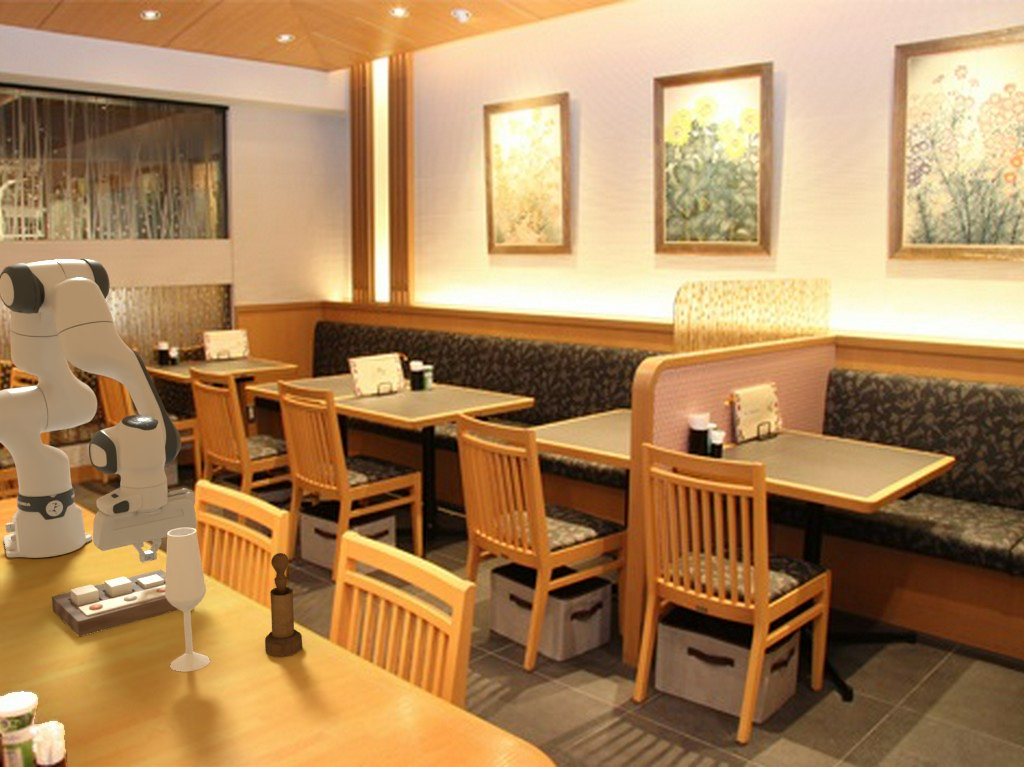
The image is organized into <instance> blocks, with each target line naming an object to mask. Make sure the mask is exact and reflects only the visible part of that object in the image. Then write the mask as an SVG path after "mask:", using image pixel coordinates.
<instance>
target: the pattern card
mask: <svg viewBox="0 0 1024 767" xmlns="http://www.w3.org/2000/svg"><path fill="white" fill-rule="evenodd" d="M163 596H165V585H162V586H158V587H155V588H151V589H147V590H143V591H139V592H135V593H131V594H127V595H123V596H120V597H116V598H112V599H108V600H104V601H100V602H96V603H92V604H88V605H84V606H81V607H78V609H79V610H80V611H82V612H83V613H84V614H85V615H86V616H91V615H95V614H99V613H102V612H106V611H110V610H114V609H118V608H121V607H125V606H129V605H133V604H137V603H140V602H144V601H148V600H152V599H155V598H159V597H163Z"/></svg>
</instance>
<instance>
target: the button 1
mask: <svg viewBox="0 0 1024 767" xmlns="http://www.w3.org/2000/svg"><path fill="white" fill-rule="evenodd" d="M94 586H95V585H93V584H92V583H91V584H88V585H84V586H83V585H82V586H79V587H76V588H71V589H70V592H71V601H72V603H73V604H74V605H75V606H76V607H77V606H81V605H85V604H88V603H92V602H96V601H99V590H98V589H97V588H95V587H94Z"/></svg>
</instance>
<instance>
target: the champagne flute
mask: <svg viewBox="0 0 1024 767" xmlns="http://www.w3.org/2000/svg"><path fill="white" fill-rule="evenodd" d="M165 559H166V560H165V573H166V584H165V596H166V599H167V600H168V602H169V603H170V604H171V605H172V606H174V607H175V608H177V609H178V610H177V611H181V612H182V613H183V614H182V615H183V628H184V629H183V630H184V645H185V653H183V654H181V655H180V656H178V657H177V658H175V659H173V661H171V663H170V664H171V665H170V664H169V667H170V669H171V670H173V671H175V670H176V672H180V671H181V672H183V673H187V672H194V671H198V670H200V669H203V668H205V667H206V666H208V665H210V664H209V663H210V661H211V660H209V659H210V657H209V656H207V655H205V654H201V653H199V652H196V651H194V648H193V645H194V644H193V632H192V615H191V612H192V611H193V610H194V609H195V608H196V607H197V606H198V605H199V604H200V603H201V602H202V601H203V599H204V598H205V595H206V592H207V588H206V587H207V586H206V582H205V575H204V570H203V564H202V558H201V551H200V544H199V538H198V532H197V529H196V528H195V529H194V528H177V529H173V530H170V531H169V532H168V533H167V537H166V558H165ZM208 657H209V658H208ZM204 666H205V667H204ZM181 672H180V673H181Z"/></svg>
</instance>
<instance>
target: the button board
mask: <svg viewBox="0 0 1024 767" xmlns="http://www.w3.org/2000/svg"><path fill="white" fill-rule="evenodd" d="M156 574H157V575H158V576H160V577H161V578H162V579H164V584H163V585H165V584H166V571H163V569H158V570H154V571H150V572H146V573H141V574H138V575H134V576H130V577H126V578H127V579H129V580H130V581H131V582H132V591H133V592H131V593H135V592H139V591H143V590H147V589H151V588H155V587H158V586H155V587H151V588H147V589H142V588H141V587H139V586H138V583H137V579H140V578H144V577H148V576H152V575H156ZM93 586H94V587H95V588H97V589H98V590H99V601H96V602H100V601H104V600H108V599H112V598H116V597H120V596H123V595H120V596H116V597H112V598H110V597H109V596H108V595H106V594H105V583H100V584H97V585H93ZM159 586H162V585H159ZM131 593H127V594H131ZM127 594H124V595H127ZM96 602H92V603H96ZM92 603H88V604H92ZM51 604H52V606H51V608H52V611H53V613H54V614H55V615H57V617H59V618H60V619H61V620H62V621H63V622H64V623H65V624H66V626H68V628H70V629H71V630H72V631H73V632H74V633H75V634H76V635H77V636H78V637H79V636H80V637H83V635H84V636H87V634H88V635H90V633H91V634H94V632H95V633H98V632H101V630H102V631H105V629H106V630H109V629H113V628H115V627H120V626H123V625H127V624H131V623H134V622H137V621H141V620H145V619H149V618H153V617H156V616H159V615H163V614H167V613H170V611H171V612H174V611H178V610H177V608H175V607H174V606H172V605H171V604H170V603H169V602H168V600H167V599H166V596H163V597H159V598H155V599H152V600H148V601H144V602H140V603H137V604H133V605H129V606H125V607H121V608H118V609H114V610H110V611H106V612H102V613H99V614H95V615H91V616H86V615H85V614H84V613H83V612H82V611H80V610H79V609H78V607H81V606H84V605H81V606H77V607H76V606H75V605H74V604H73V603H72V601H71V591H68V592H65V593H61V594H57V595H52V596H51ZM88 604H85V605H88ZM97 631H98V632H97Z"/></svg>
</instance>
